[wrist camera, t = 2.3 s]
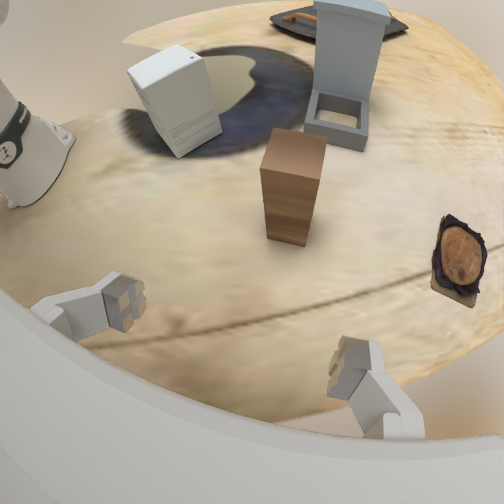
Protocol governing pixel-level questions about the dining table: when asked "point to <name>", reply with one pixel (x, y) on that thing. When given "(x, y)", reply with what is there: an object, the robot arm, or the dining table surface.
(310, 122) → the pale blue tower
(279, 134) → the walnut block
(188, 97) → the supplement box
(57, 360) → the robot arm
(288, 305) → the dining table surface
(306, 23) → the serving board
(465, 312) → the dining table surface
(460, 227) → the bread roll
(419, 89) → the dining table surface
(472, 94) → the dining table surface
